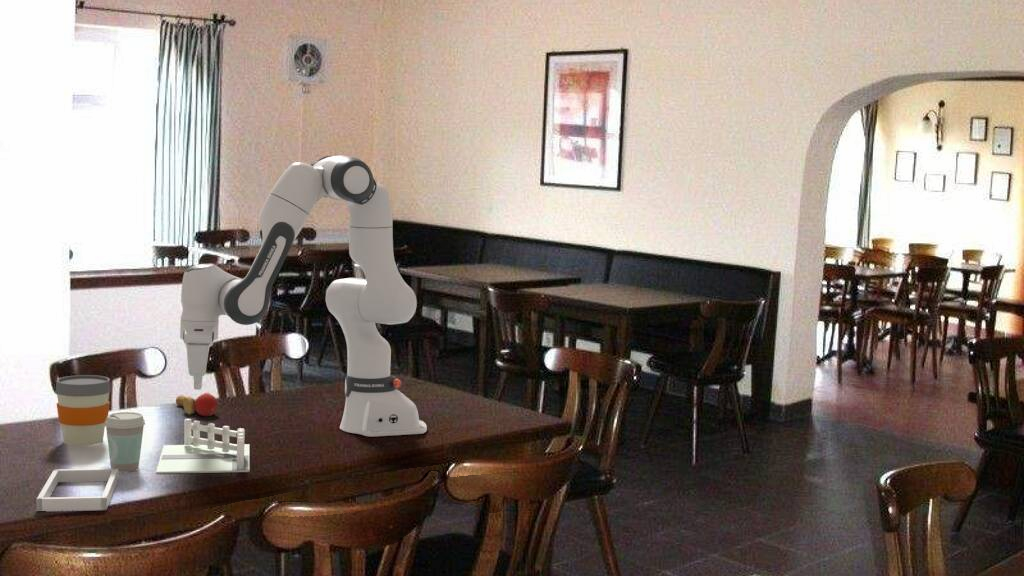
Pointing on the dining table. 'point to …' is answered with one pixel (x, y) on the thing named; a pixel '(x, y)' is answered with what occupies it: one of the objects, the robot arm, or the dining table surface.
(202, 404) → the kendama
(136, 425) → the coffee cup
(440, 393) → the dining table surface
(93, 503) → the rim
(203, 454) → the card
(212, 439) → the white toy fence
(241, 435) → the fence fixed
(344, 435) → the dining table surface
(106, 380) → the reusable coffee cup
